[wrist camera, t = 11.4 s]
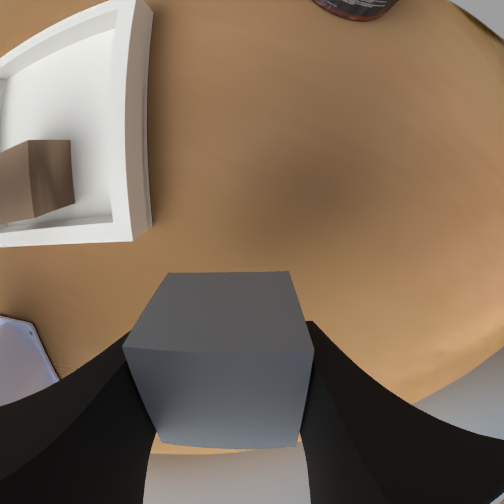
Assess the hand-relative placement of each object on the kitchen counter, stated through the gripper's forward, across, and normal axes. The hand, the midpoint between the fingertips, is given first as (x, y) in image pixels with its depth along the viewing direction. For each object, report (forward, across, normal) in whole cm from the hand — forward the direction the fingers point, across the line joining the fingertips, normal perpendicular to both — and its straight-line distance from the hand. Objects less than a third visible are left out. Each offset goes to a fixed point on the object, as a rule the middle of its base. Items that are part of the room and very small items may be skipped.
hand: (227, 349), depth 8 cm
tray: (+8, +12, -9) cm, 17 cm away
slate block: (+1, 0, 0) cm, 1 cm away
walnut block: (+8, +12, -6) cm, 15 cm away
